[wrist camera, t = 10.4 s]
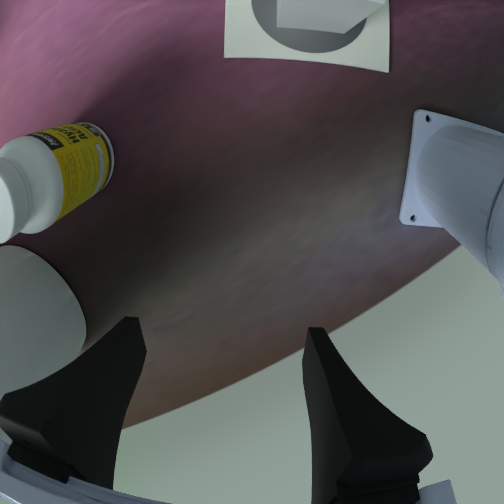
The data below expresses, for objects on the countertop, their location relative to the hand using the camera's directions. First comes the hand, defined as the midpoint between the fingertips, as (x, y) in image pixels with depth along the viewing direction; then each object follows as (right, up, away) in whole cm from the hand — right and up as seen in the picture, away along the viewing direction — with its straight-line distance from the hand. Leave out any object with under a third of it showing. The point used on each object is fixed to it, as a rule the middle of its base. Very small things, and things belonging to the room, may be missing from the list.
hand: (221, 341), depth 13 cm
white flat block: (+5, +19, +1) cm, 19 cm away
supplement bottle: (-10, +10, +6) cm, 16 cm away
